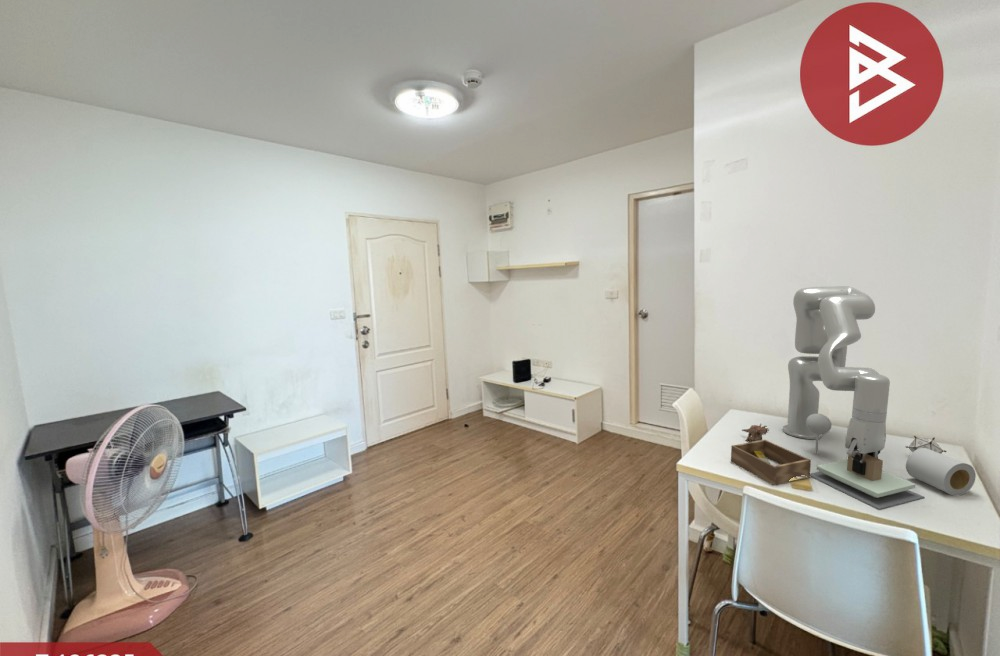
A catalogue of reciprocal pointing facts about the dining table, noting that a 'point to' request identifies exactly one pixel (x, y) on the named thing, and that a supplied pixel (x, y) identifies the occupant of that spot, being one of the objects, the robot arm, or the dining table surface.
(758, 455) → the medication box
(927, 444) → the grey rod frame
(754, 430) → the dinosaur figurine
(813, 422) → the lollipop
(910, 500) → the mat
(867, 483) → the lid
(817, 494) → the dining table surface
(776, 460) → the crate
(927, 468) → the toilet paper
